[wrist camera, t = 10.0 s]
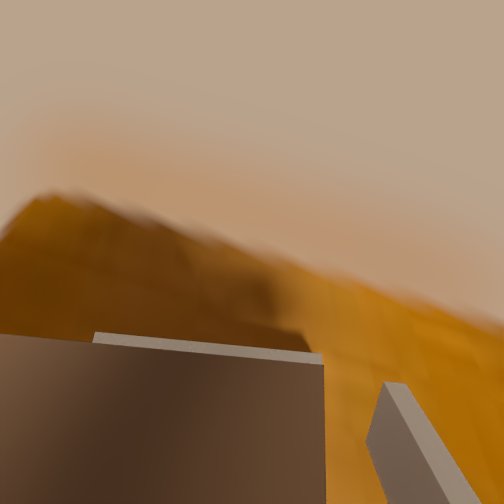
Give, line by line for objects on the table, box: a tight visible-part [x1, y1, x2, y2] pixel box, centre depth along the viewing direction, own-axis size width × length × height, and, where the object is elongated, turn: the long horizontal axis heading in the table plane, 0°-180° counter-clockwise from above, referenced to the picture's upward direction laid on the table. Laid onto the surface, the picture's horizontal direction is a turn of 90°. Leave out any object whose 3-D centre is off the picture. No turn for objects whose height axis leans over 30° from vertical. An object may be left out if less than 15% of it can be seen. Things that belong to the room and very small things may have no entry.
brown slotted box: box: [0, 334, 326, 504], centre depth 9 cm, size 6×6×11 cm
